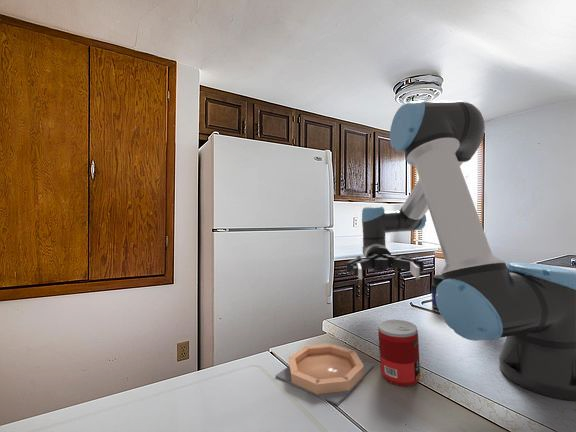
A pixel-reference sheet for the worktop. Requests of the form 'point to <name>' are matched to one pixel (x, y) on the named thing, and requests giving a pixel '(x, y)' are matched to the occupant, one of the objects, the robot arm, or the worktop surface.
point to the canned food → (399, 352)
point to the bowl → (325, 368)
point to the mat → (331, 397)
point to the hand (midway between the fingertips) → (388, 273)
